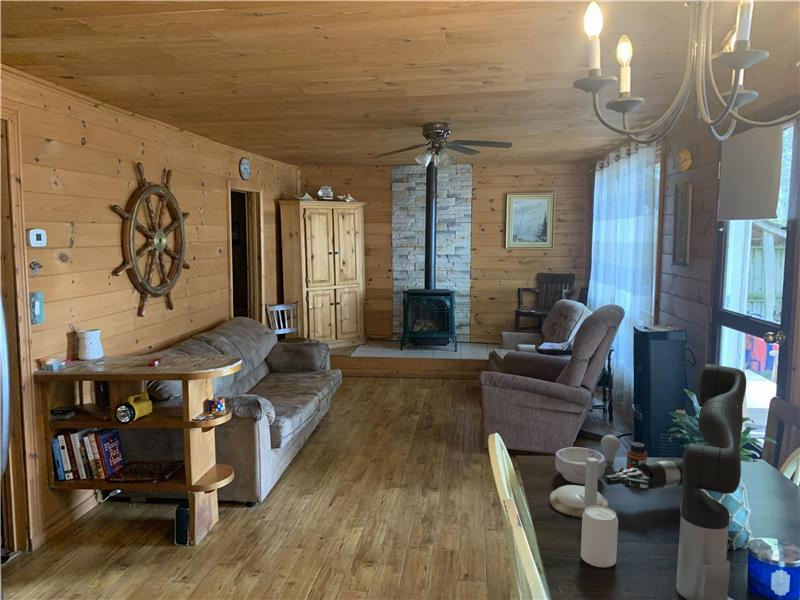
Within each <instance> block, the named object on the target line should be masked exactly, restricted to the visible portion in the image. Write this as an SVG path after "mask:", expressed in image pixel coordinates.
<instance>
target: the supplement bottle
mask: <svg viewBox="0 0 800 600" xmlns="http://www.w3.org/2000/svg"><path fill="white" fill-rule="evenodd" d="M626 455H627V456H626V469H629V468H637V467H638V466H639V465H640V464H641V463H644V462H648V452H647V451H646V450H645V444H644V443H642V442H636V441H633V442H631V444H630V448H629V449H628V450H627V453H626Z"/></svg>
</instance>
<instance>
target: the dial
mask: <svg viewBox="0 0 800 600" xmlns="http://www.w3.org/2000/svg"><path fill="white" fill-rule="evenodd" d="M598 464H599V461H598V460H597V459H595V458H586V472H585V484H584V485H583V486H582V485H580V484H578V485H577V484H576V485H575V484H572V485H571V484H566V485H563V486H562V485H561V486H559V487H558V488H556V489H555V490H556V495H555V496H556V499H557V500H558V501H559V502H560V503H562V504H564V505H566V506H569V507H572V508H577V509H586V508H587V507H590V506H601V505H602V496H603V495H602V494H601V493H600V492H599V491H598V486H599V485H598V484H599V477H598Z"/></svg>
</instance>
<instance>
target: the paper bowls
mask: <svg viewBox="0 0 800 600" xmlns="http://www.w3.org/2000/svg"><path fill="white" fill-rule="evenodd" d="M586 458H595V459H597V460H598V461H599V464H598V478H600V477H602V476H604V475H605V471H606V463H605V455H603V454H602V453H601V452H600V451H598V450H595V449H592V448H586V447H578V446H570V447H564V448H561V449H559V450H556V452H555V458H554V459H555V460H554V461H555V462H554V465H555V469H556V471H558V472H559V473H560V474H561V475H562V477H563V479H565V480H566V481H568V482H571V483H573V484H577V483H578V485H585V472H586Z"/></svg>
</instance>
